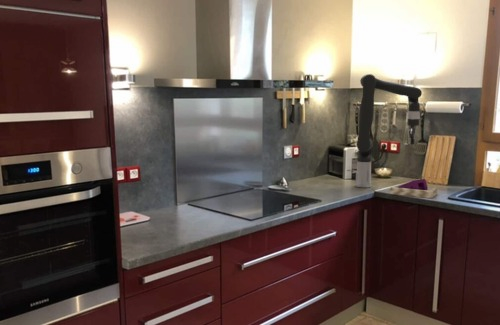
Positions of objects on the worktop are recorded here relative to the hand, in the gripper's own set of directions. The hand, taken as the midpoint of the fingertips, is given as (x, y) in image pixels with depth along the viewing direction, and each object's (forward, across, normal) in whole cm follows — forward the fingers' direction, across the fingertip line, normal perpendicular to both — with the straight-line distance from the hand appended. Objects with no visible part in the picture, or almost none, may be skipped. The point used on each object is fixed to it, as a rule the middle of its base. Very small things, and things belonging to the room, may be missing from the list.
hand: (412, 144), depth 299 cm
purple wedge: (+30, +18, +4) cm, 35 cm away
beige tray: (+29, +22, +6) cm, 37 cm away
